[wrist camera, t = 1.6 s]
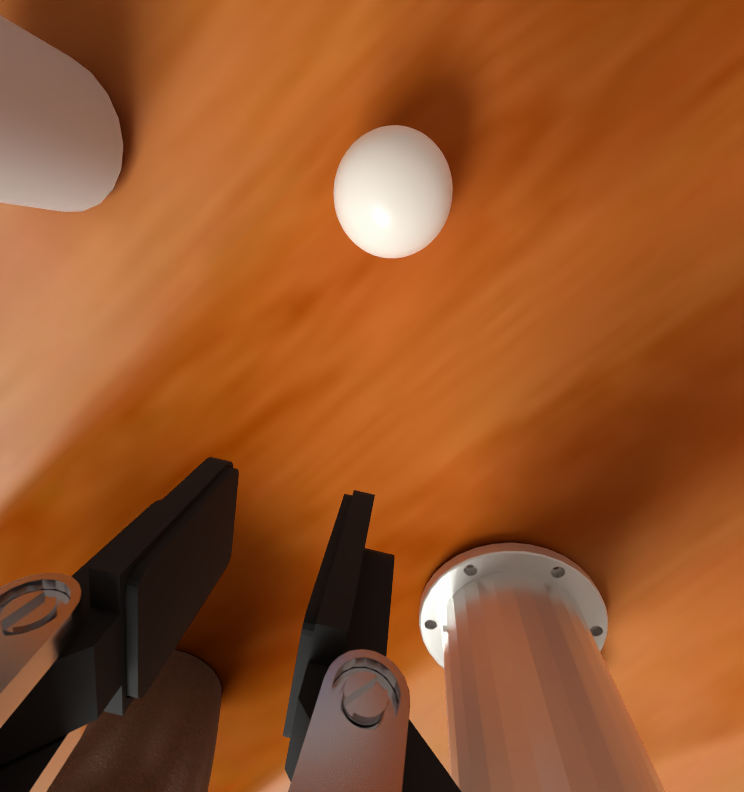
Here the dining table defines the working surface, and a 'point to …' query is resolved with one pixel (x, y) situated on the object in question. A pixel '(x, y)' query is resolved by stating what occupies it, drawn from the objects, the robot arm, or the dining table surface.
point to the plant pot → (152, 737)
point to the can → (53, 127)
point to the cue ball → (393, 191)
